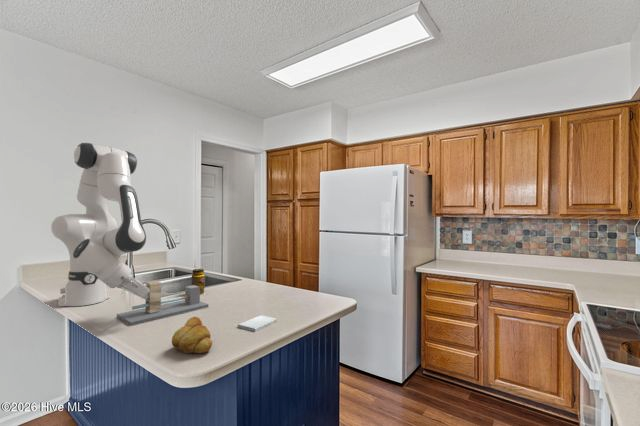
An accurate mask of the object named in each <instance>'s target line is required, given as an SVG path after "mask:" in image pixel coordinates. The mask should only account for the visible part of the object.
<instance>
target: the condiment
mask: <svg viewBox="0 0 640 426" xmlns="http://www.w3.org/2000/svg"><path fill="white" fill-rule="evenodd" d="M204 272H205V270H204V269H203V268H195V269H192V273H191V285H195V286H199V287H200V296H202V295H207V293H206V292H205V277H206V276H205V273H204Z"/></svg>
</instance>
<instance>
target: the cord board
mask: <svg viewBox="0 0 640 426" xmlns="http://www.w3.org/2000/svg"><path fill="white" fill-rule="evenodd" d="M184 287H185V288H184V295H183V296H179V297H174V298H169V299H164V300H162V299H161V311H158V312H153V313H149V312H147V311H145V307H148V306H149V303H147V304H146V303H142V304H138V305H134V306H133V305H132V307H131V309H132V310H129V311H125V312H120V313H117V314H116V318H118V319H119V320H121V321H122V322H124V323H125V324H127V325H128V326H130V327H132V326H136V325H140V324H144V323H148V322H153V321H157V320H160V319H165V318H170V317H172V316H179V315H181V314H186V313H189V312H194V311H197V310H198V311H199V310H202V309H207V308H209V303H207V302H203V301H200V300H201V299H200V298H201V297H200V296H201V295H200V287H199V286H195V285H192V284H191V285H187V286H184Z"/></svg>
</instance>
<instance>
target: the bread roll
mask: <svg viewBox="0 0 640 426" xmlns="http://www.w3.org/2000/svg"><path fill="white" fill-rule="evenodd" d="M171 345H172V347H174V348H175V349H178V350H179V351H180V352H182V353H184V354H190V353H194V354H203V353H206V352H208V351H210V350H211V348H212V346H213V340H212V339H211V332H210V330H209V329H208V328H207V326H206V325H203V322H202V319H200V317H197V316H191V317H190V318H189V319H187V320H186V322H185V324H184V326H181V327H180V328H179V329H177V330H176V331H175V332H174V333H173V335H172V338H171Z"/></svg>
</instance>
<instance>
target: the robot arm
mask: <svg viewBox="0 0 640 426" xmlns="http://www.w3.org/2000/svg"><path fill="white" fill-rule="evenodd" d="M73 159H74V163H75V164H76V165H77V166H78V167H79V168H82V169H83V171H82V173H81V175H80V180H79V185H78V190H77V194H76V200H77V201H78V202H79V204H80V205H82V206H84V207H85V211H86V212H85V213H84V214H83V213H81V214H80V213H77V214H76V213H74V214H73V213H70V214H64V215H59V216H56V217H55V218H54V220H53V221H52V222H51V226H50V230H51V233H52V235H53V236H54V237H55V238H56V239H58V240H60V241H61V242H62V243H63V244H64V246H65V247H66V248H67V250H68V254H69V271H68V275H67V279H68V281H67V282H66V284H65V287H62V288H60V292H59V294H60V295H62V296H60V297H58V302H57V303H58V305H57V307H82V306H88V305H90V306H91V305H94V304H99V303H101V302H104V301H106V300H108V299H110V298H111V295H109V294H107V286H108V287H109V288H110V289H115V288H117V289H121V290H123V291H125V292H128V293H131V294H132V295H135V296H137V297H139V298H141V299H144V300H145V299H147V298H148V297H149V295H147V294H148V293H149V292H150V290H149V289H148V288H147V287H146V284H143V283H142V282H140V281H139V280H138V279H137V278H135V277H133V274H132V268H131V267H130V266H128V265H127V264H126V263H124V262H123V261H122V260H121V259H120V257H121V256H122V255H123V256H124V255H125V254H129V253H133V252H138V251H139V250H141V249H143V248H144V246H145V244H146V241H147V234H146V231H145V229H144V226H143V223H142V217H141V210H140V206H139V199H138V195H137V192H136V190H135V188H134V187H133V186H132V180H131V176H132V174H134V173H135V171H136V169H137V166H138V159H137V157H136V155H135V154H134V153H132V152H130V151H127V150H126V151H124V150H122V149H119V148H116V147H112V146H106V145H105V146H104V145H100V144H93V143H91V142H90V143H89V142H81V143H79V144H78V145H77V147H76V148H75V149H74V152H73ZM108 201H112V202H116V203H117V202H118V204H119V211H120V218H121V223H120V225H119V226H118V223H117V220H116V219H115V217H114V216H112V215H111V213H110V211H109V204H108V203H109V202H108Z"/></svg>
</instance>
